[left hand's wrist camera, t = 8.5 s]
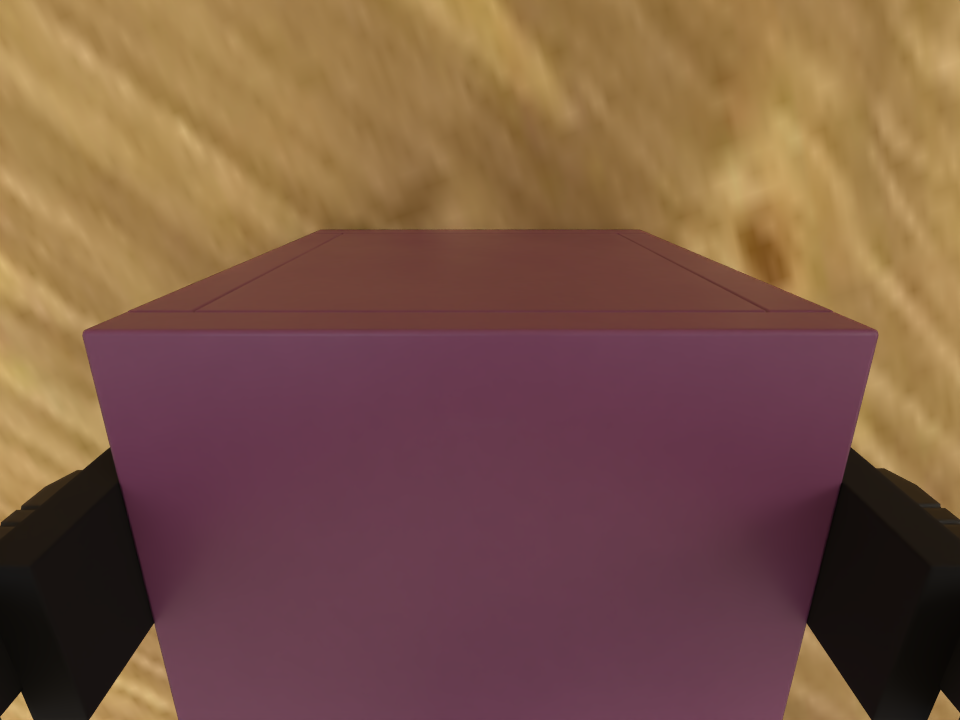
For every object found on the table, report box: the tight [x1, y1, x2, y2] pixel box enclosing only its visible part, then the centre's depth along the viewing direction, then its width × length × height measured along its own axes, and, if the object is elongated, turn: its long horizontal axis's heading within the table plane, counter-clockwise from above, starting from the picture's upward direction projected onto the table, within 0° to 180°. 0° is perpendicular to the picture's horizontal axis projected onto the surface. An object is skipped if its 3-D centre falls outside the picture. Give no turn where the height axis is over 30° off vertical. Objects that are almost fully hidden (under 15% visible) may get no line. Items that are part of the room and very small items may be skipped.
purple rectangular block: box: [83, 230, 878, 720], centre depth 16 cm, size 20×11×12 cm, turn 0°
